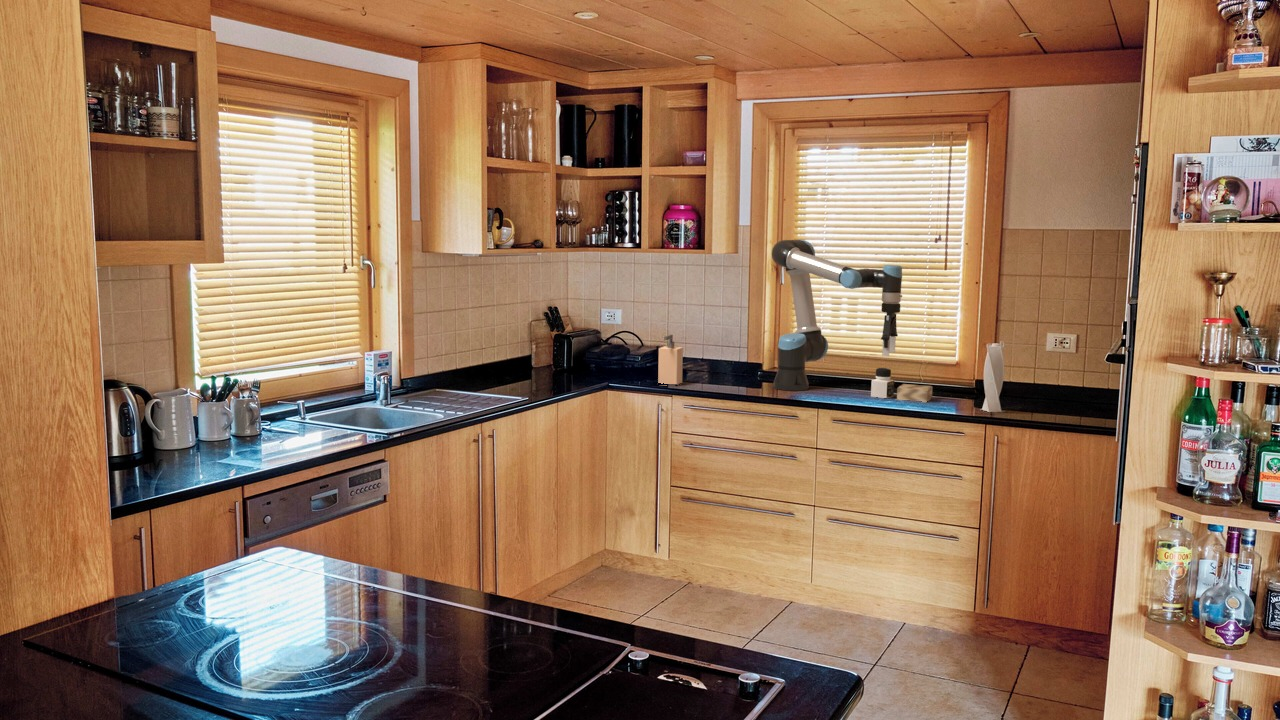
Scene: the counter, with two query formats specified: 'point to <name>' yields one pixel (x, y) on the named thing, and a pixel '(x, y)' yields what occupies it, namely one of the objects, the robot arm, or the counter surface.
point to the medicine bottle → (882, 384)
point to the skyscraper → (993, 377)
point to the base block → (914, 392)
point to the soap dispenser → (670, 363)
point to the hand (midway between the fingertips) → (888, 353)
